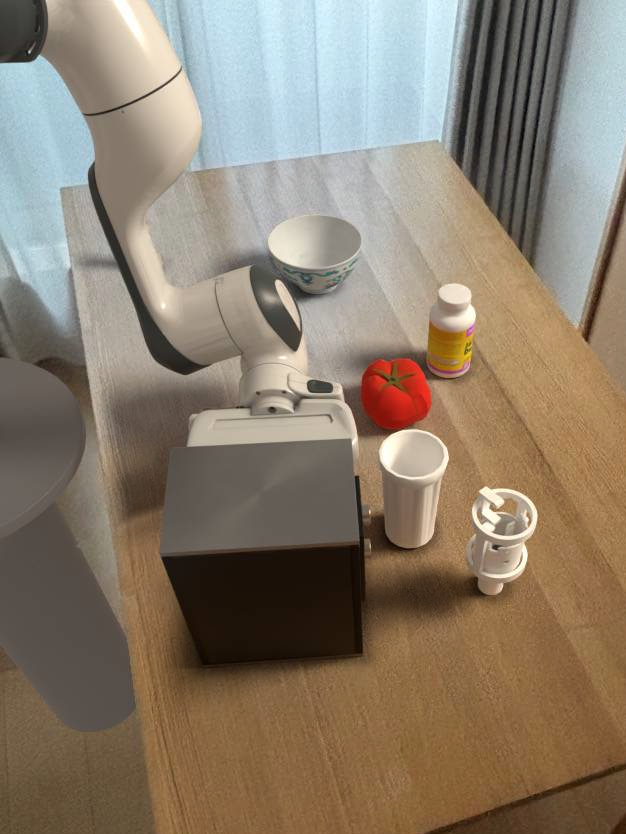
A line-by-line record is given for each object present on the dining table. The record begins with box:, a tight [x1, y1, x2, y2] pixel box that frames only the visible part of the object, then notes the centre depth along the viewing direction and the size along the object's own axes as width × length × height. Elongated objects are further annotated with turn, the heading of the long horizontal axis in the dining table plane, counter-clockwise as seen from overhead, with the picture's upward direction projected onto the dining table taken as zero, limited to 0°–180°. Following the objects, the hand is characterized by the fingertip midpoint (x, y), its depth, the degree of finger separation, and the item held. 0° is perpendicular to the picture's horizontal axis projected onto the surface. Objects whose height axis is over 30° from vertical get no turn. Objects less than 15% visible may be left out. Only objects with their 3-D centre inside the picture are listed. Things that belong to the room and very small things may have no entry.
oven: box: [158, 438, 372, 669], centre depth 84 cm, size 20×13×22 cm, turn 96°
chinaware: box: [266, 213, 363, 295], centre depth 128 cm, size 15×15×8 cm
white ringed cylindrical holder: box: [464, 486, 538, 596], centre depth 90 cm, size 7×7×15 cm
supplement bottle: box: [426, 282, 477, 379], centre depth 115 cm, size 7×7×13 cm
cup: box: [377, 428, 450, 549], centre depth 95 cm, size 8×8×14 cm
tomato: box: [359, 357, 433, 430], centre depth 111 cm, size 10×11×6 cm
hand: (273, 490), depth 90 cm, fingers open, 8 cm apart
